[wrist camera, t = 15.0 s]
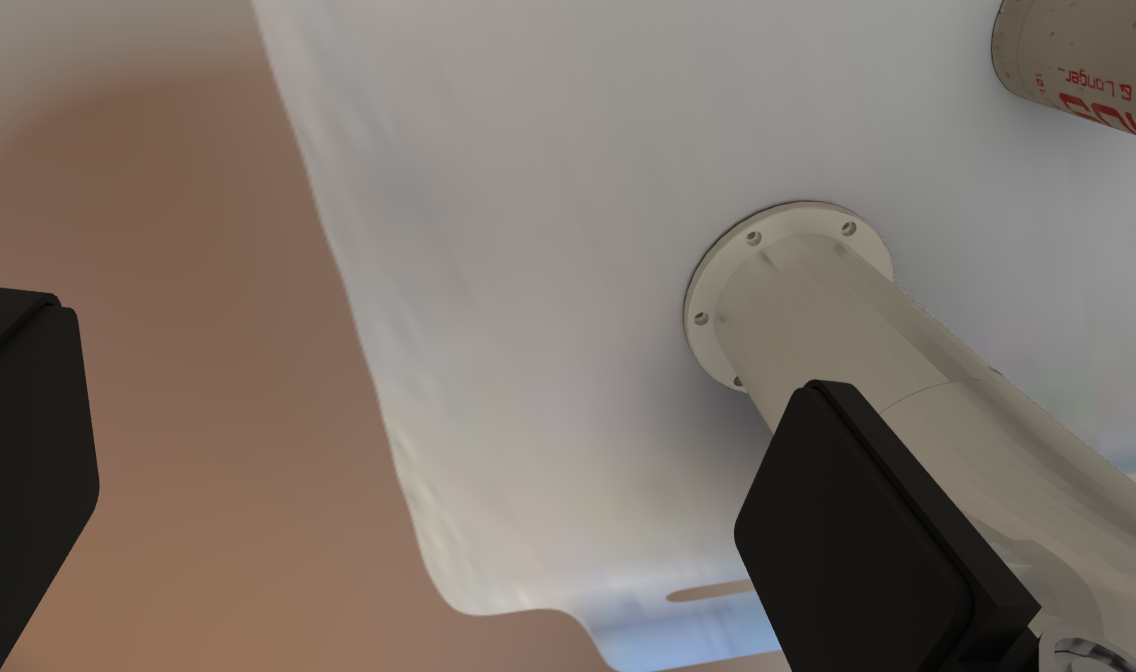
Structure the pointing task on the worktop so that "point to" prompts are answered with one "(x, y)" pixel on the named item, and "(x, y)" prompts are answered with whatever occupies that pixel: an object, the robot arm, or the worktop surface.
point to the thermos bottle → (1071, 56)
